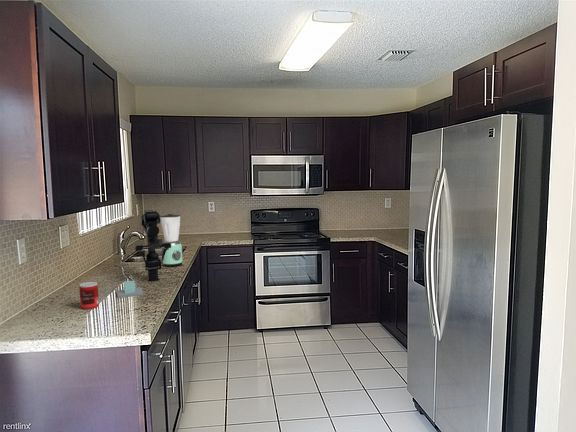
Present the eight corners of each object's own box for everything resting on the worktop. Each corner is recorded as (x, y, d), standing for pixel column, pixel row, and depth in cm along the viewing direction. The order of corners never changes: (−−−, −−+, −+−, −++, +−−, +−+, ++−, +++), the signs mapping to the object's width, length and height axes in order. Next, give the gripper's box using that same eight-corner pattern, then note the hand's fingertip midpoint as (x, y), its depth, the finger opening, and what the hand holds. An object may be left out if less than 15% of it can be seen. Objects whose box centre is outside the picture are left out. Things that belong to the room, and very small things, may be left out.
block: (124, 291, 211) (123, 281, 210) (134, 289, 213) (134, 280, 212) (124, 293, 206) (124, 283, 206) (135, 292, 208) (134, 282, 208)
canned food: (94, 303, 194) (92, 280, 193) (102, 306, 189) (100, 283, 188) (77, 307, 188) (75, 284, 187) (85, 310, 183) (83, 286, 182)
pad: (117, 292, 213) (117, 290, 213) (141, 289, 218) (141, 287, 217) (117, 298, 202) (117, 296, 202) (143, 294, 207) (143, 292, 207)
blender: (188, 265, 276) (185, 214, 273) (169, 268, 267) (166, 215, 264) (174, 261, 290) (171, 212, 287) (156, 264, 281) (153, 214, 278)
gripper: (135, 237, 213) (136, 266, 215) (171, 234, 221) (173, 262, 222) (134, 234, 224) (135, 262, 225) (169, 231, 231) (170, 258, 232)
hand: (154, 261), depth 226 cm, fingers open, 9 cm apart
